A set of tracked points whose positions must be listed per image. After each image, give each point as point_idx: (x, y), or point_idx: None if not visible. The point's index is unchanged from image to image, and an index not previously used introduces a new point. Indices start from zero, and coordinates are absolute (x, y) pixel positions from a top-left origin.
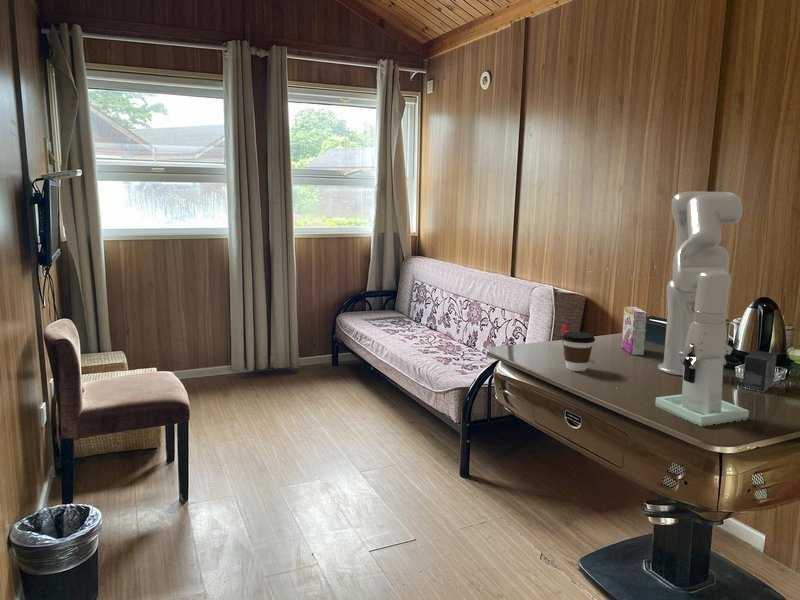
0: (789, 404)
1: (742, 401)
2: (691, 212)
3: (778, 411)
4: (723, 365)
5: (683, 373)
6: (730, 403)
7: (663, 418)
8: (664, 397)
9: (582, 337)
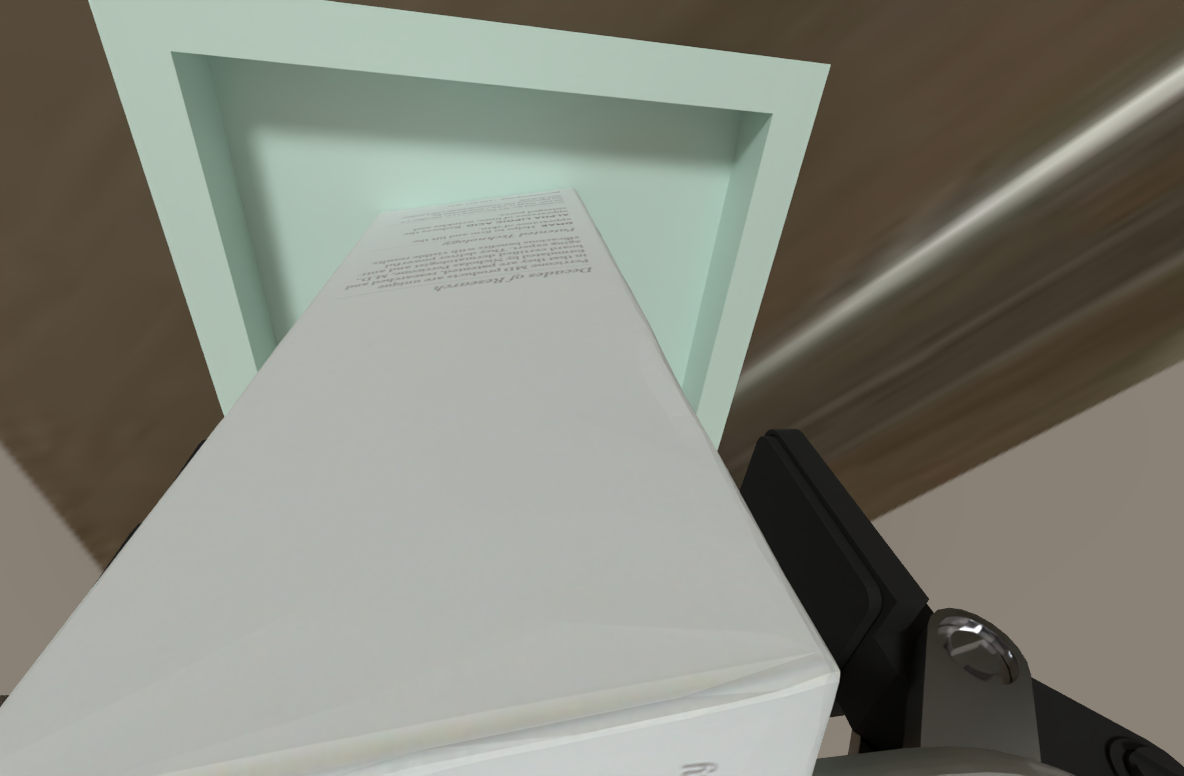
0: (1140, 369)
1: (1022, 231)
2: None
3: (959, 429)
4: (833, 715)
5: (244, 400)
6: (731, 401)
7: (57, 311)
8: (224, 32)
9: None
